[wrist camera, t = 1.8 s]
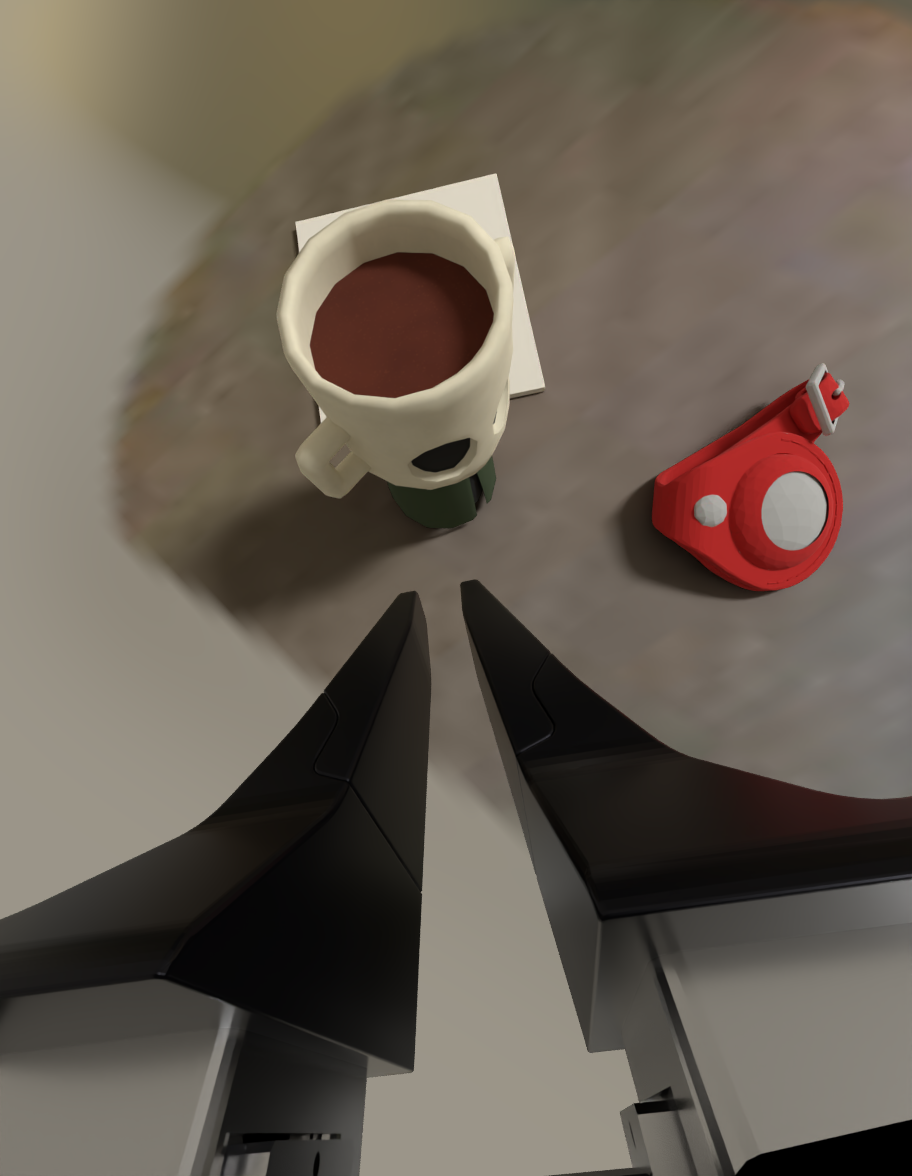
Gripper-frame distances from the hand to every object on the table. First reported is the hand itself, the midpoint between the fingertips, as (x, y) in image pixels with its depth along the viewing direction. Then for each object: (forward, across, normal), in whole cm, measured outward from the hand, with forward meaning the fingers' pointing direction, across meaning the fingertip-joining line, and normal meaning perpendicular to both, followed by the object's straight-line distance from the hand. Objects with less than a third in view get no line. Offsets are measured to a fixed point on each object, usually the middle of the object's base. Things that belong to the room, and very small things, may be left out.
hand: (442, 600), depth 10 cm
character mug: (+16, 0, +3) cm, 16 cm away
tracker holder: (+13, -17, +7) cm, 23 cm away
